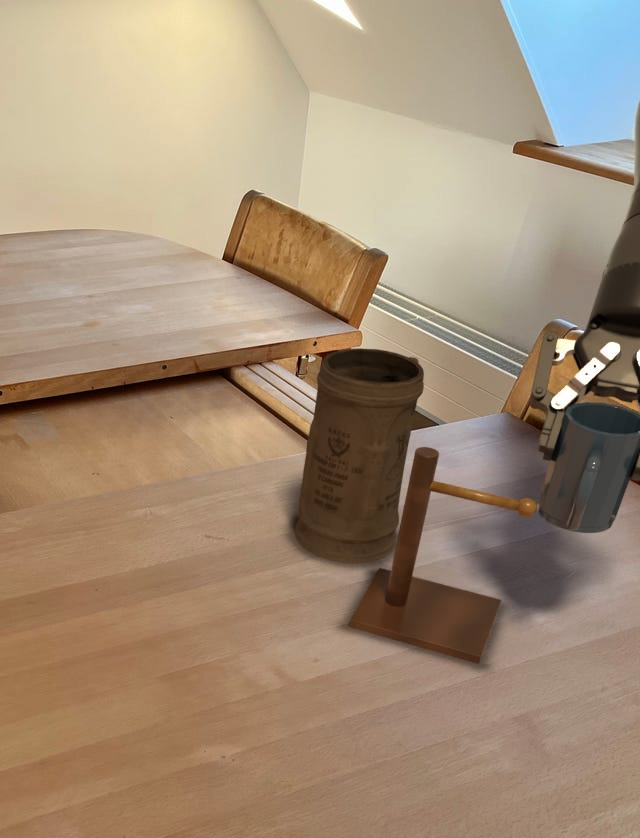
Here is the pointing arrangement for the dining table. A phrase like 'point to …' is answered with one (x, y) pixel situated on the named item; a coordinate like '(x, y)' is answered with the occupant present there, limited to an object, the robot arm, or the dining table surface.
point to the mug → (590, 467)
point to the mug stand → (424, 600)
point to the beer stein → (357, 454)
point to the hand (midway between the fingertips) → (591, 466)
